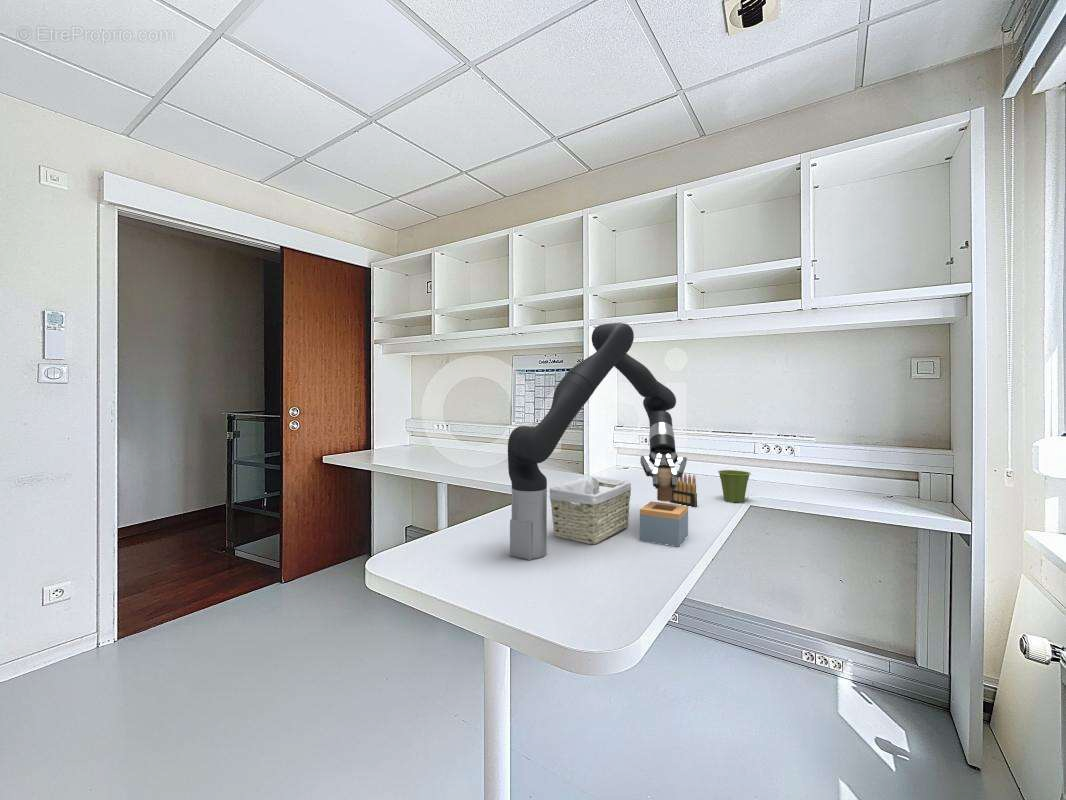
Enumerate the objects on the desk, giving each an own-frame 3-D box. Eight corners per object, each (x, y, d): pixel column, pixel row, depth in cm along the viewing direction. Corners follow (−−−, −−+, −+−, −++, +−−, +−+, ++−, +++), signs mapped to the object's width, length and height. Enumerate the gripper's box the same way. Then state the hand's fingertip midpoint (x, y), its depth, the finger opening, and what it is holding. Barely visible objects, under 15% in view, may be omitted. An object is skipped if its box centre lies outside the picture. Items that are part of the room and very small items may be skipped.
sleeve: (678, 547, 129) (679, 514, 129) (639, 540, 135) (639, 509, 134) (687, 536, 138) (688, 506, 138) (650, 530, 144) (651, 501, 144)
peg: (669, 502, 134) (669, 470, 133) (655, 500, 136) (655, 469, 135) (673, 499, 137) (673, 468, 137) (659, 497, 139) (659, 467, 139)
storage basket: (594, 548, 128) (594, 494, 128) (546, 536, 138) (546, 486, 138) (633, 528, 147) (633, 481, 147) (588, 519, 157) (588, 475, 157)
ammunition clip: (669, 502, 181) (669, 471, 181) (671, 501, 182) (672, 470, 182) (694, 507, 173) (695, 475, 173) (697, 506, 174) (697, 474, 174)
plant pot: (752, 499, 186) (752, 471, 186) (748, 505, 176) (748, 475, 176) (720, 496, 192) (720, 468, 192) (714, 501, 182) (715, 472, 182)
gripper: (638, 432, 145) (640, 479, 133) (687, 433, 142) (692, 481, 130) (638, 447, 150) (639, 493, 138) (684, 448, 147) (689, 495, 136)
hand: (665, 487), depth 134 cm, fingers closed on peg, 4 cm apart
